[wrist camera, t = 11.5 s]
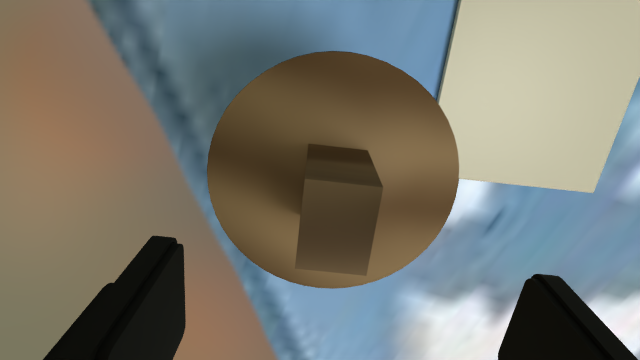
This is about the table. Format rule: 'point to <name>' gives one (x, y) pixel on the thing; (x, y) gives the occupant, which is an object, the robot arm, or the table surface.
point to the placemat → (539, 88)
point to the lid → (333, 169)
